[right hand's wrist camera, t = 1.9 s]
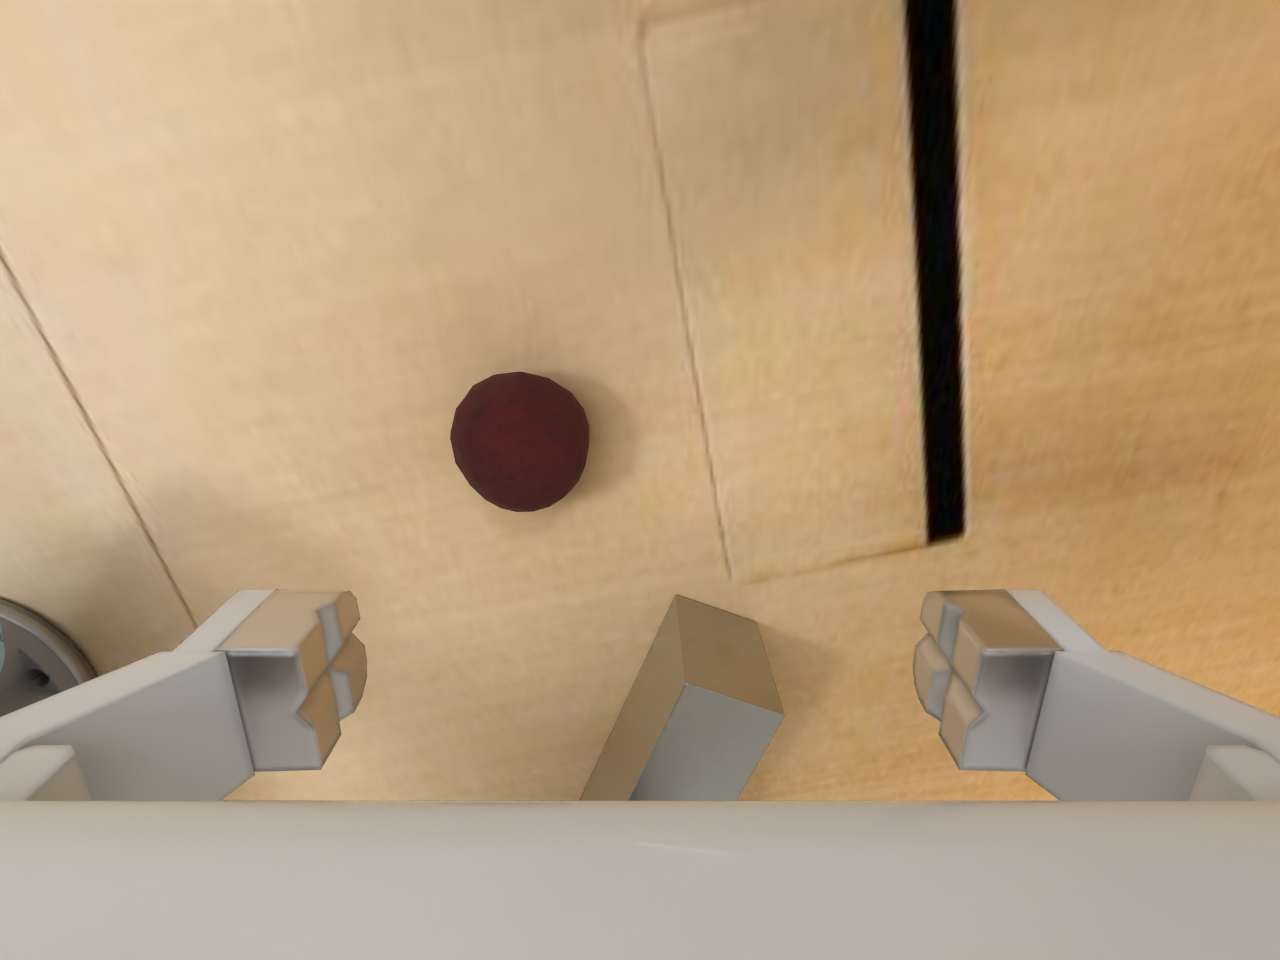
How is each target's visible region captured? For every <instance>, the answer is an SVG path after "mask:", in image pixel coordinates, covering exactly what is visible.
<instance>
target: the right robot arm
mask: <svg viewBox="0 0 1280 960" xmlns="http://www.w3.org/2000/svg"><path fill="white" fill-rule="evenodd" d="M359 620H360V615H359V610H358V604H357V599H356V597H355V596H354V595H353V594H352V593H351V592H350V591H329V590H278V589H253V590H240V591H237V592H236V593H235V594H234V595H233V596H232V597H231V598H230V599H228V600H227V601H226V602H225V603H224V604H223V605H222V606H221V607H220V608H219V609H218V610H217V611H215V612H214V613H213V614H212V615H211V616H210V617H209V618H208V619H207V620H206V621H205V622H204V623H203V624H201V625H200V626H199V627H198V628H197V629H196V630H195V631H194V632H193V633H192V634H191V635H190V636H188V637H187V638H186V639H185V640H184V641H183V642H182V643H181V644H180V645H179V646H178V647H177V648H175V649H174V650H173V651H160V652H158V653H155V654H153V655H151V656H148V657H146V658H143V659H141V660H138V661H136V662H133V663H131V664H129V665H126V666H124V667H121V668H119V669H116V670H114V671H112V672H109V673H107V674H104V675H102V676H99V677H97V678H95V679H92V680H90V681H87V682H85V683H82V684H80V685H77V686H75V687H73V688H70V689H68V690H65V691H63V692H60V693H58V694H56V695H53V696H51V697H48V698H46V699H43V700H41V701H38V702H36V703H34V704H31V705H29V706H26V707H24V708H21V709H19V710H17V711H14V712H12V713H9V714H7V715H4V716H2V717H0V960H1280V717H1278V716H1275V715H1273V714H1270V713H1268V712H1265V711H1263V710H1261V709H1258V708H1256V707H1253V706H1251V705H1248V704H1246V703H1244V702H1241V701H1239V700H1236V699H1234V698H1231V697H1229V696H1227V695H1224V694H1222V693H1219V692H1217V691H1214V690H1212V689H1210V688H1207V687H1205V686H1202V685H1200V684H1197V683H1195V682H1193V681H1190V680H1188V679H1185V678H1183V677H1180V676H1178V675H1176V674H1173V673H1171V672H1168V671H1166V670H1163V669H1161V668H1159V667H1156V666H1154V665H1151V664H1149V663H1146V662H1144V661H1142V660H1139V659H1137V658H1134V657H1132V656H1129V655H1127V654H1125V653H1122V652H1120V651H1107V650H1106V649H1105V648H1104V647H1102V646H1101V645H1100V644H1099V643H1098V642H1097V641H1096V640H1095V639H1094V638H1093V637H1092V636H1091V635H1090V634H1088V633H1087V632H1086V631H1085V630H1084V629H1083V628H1082V627H1081V626H1080V625H1079V624H1078V623H1077V622H1075V621H1074V620H1073V619H1072V618H1071V617H1070V616H1069V615H1068V614H1067V613H1066V612H1065V611H1064V610H1063V609H1061V608H1060V607H1059V606H1058V605H1057V604H1056V603H1055V602H1054V601H1053V600H1052V599H1051V598H1050V597H1049V596H1047V595H1046V594H1045V593H1044V592H1043V591H1040V590H1036V589H1015V590H966V591H934V592H927V594H926V596H925V598H924V601H923V603H922V608H921V614H920V620H921V622H922V623H923V625H924V626H925V628H926V629H927V631H928V633H927V634H926V635H925V636H924V637H923V638H922V639H921V640H920V641H919V642H918V644H917V645H916V646H915V652H914V661H913V674H914V684H915V688H916V691H917V695H918V698H919V700H920V702H921V704H922V706H923V708H924V709H925V711H926V712H927V713H928V714H930V715H932V716H933V717H935V718H936V719H938V720H940V721H941V724H940V730H939V736H940V737H941V739H942V741H943V743H944V744H945V746H946V748H947V749H948V751H949V753H950V754H951V756H952V758H953V760H954V761H955V763H956V765H957V766H958V768H959V770H984V771H1021V772H1026V773H1025V775H1027V776H1028V777H1029V778H1031V779H1032V780H1033V781H1035V782H1036V783H1037V784H1039V785H1040V786H1041V787H1043V788H1044V789H1045V790H1047V791H1048V792H1049V793H1050V794H1052V795H1053V796H1054V797H1056V798H1057V799H1058V800H1060V801H220V800H222V799H223V798H224V797H226V796H227V795H228V794H230V793H231V792H232V791H234V790H235V789H236V788H238V787H239V786H240V785H242V784H243V783H244V782H246V781H247V780H248V779H250V778H251V777H252V776H254V774H255V773H254V772H259V771H295V770H321V768H322V767H323V765H324V763H325V761H326V760H327V758H328V756H329V755H330V753H331V751H332V749H333V748H334V746H335V744H336V743H337V741H338V739H339V737H340V736H341V729H340V724H339V721H340V720H342V719H344V718H345V717H347V716H348V715H350V714H352V713H353V712H354V711H355V709H356V708H357V706H358V704H359V702H360V700H361V698H362V695H363V691H364V687H365V682H366V678H367V658H366V651H365V646H364V645H363V644H362V642H361V641H360V640H359V639H358V638H357V637H356V636H355V635H354V634H353V633H352V631H353V629H354V628H355V626H356V625H357V623H358V622H359Z"/></svg>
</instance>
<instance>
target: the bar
mask: <svg viewBox="0 0 1280 960" xmlns="http://www.w3.org/2000/svg"><path fill="white" fill-rule="evenodd" d="M783 717H784V712H783V708H782V705H781V702H780V698H779V695H778V692H777V689H776V685H775V682H774V679H773V675H772V672H771V669H770V666H769V662H768V659H767V656H766V652H765V649H764V646H763V643H762V639H761V636H760V633H759V629H758V626H757V623H756V622H754V621H752V620H749V619H746V618H743V617H740V616H737V615H734V614H731V613H728V612H725V611H722V610H720V609H717V608H714V607H711V606H708V605H705V604H702V603H699V602H696V601H693V600H690V599H688V598H685V597H682V596H679V595H675V597H674V599H673V601H672V603H671V606H670V608H669V610H668V612H667V614H666V616H665V618H664V621H663V623H662V625H661V627H660V629H659V631H658V634H657V636H656V638H655V640H654V642H653V644H652V646H651V649H650V651H649V653H648V655H647V657H646V659H645V661H644V664H643V666H642V668H641V670H640V672H639V674H638V676H637V679H636V681H635V683H634V685H633V687H632V689H631V691H630V694H629V696H628V698H627V700H626V702H625V704H624V706H623V709H622V711H621V713H620V715H619V717H618V719H617V721H616V724H615V726H614V728H613V730H612V732H611V734H610V736H609V739H608V741H607V743H606V745H605V747H604V749H603V751H602V754H601V756H600V758H599V760H598V762H597V764H596V767H595V769H594V771H593V773H592V775H591V777H590V779H589V782H588V784H587V786H586V788H585V790H584V792H583V794H582V797H581V799H580V801H737V799H738V797H739V795H740V794H741V792H742V790H743V788H744V787H745V785H746V783H747V781H748V779H749V778H750V776H751V774H752V772H753V771H754V769H755V767H756V765H757V763H758V762H759V760H760V758H761V756H762V755H763V753H764V751H765V749H766V748H767V746H768V744H769V742H770V740H771V739H772V737H773V735H774V733H775V732H776V730H777V728H778V726H779V725H780V723H781V721H782V719H783Z"/></svg>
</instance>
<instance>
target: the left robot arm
mask: <svg viewBox="0 0 1280 960" xmlns="http://www.w3.org/2000/svg"><path fill="white" fill-rule="evenodd" d="M95 678H96V676H95V674H94V672H93V670H92V668H91V666H90V665H89V663H88V662H87V660H86V659H85V658H84V656H83V655H82V654H81V652H80V651H79V650H78V649H77V648H76V647H75V645H74V644H73V643H72V642H71V641H70V640H69V639H68V638H67V637H65V636H64V635H63V634H62V633H61V632H60V631H59V630H57V629H56V628H55V627H54V626H52V625H51V624H49V623H48V622H47V621H45V620H44V619H42V618H40V617H39V616H37V615H35V614H34V613H32V612H30V611H28V610H26V609H24V608H22V607H20V606H18V605H15V604H13V603H11V602H8V601H5V600H2V599H0V717H2V716H4V715H7V714H9V713H12V712H14V711H17V710H19V709H21V708H24V707H26V706H29V705H31V704H34V703H36V702H38V701H41V700H43V699H46V698H48V697H51V696H53V695H56V694H58V693H60V692H63V691H65V690H68V689H70V688H73V687H75V686H77V685H80V684H82V683H85V682H87V681H90V680H92V679H95Z"/></svg>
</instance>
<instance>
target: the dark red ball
mask: <svg viewBox="0 0 1280 960" xmlns="http://www.w3.org/2000/svg"><path fill="white" fill-rule="evenodd" d="M450 439H451V444H452V448H453V453H454V457H455V462H456V464H457V466H458V467H459V469H460V470H461V472H462V473H463V475H464V476H465V478H466V479H467V481H468V483H469V484H470V485H471V486H472V487H473V488H474V489H475V490H476V491H477V492H478V493H479V494H480V495H481V496H482V497H483V498H484V499H485V500H487V501H489V502H491V503H493V504H494V505H496V506H498V507H500V508H503V509H507V510H511V511H516V512H529V511H536V510H539V509H543V508H546V507H549V506H551V505H552V504H554V503H556V502H557V501H559V500H560V499H562V498H563V497H565V496H566V495H567V494H568V493H569V491H570V490H571V489H572V488H573V487H574V486H575V484H576V483H577V482H578V481H579V479H580V477H581V474H582V472H583V470H584V467H585V464H586V458H587V452H588V447H589V425H588V421H587V418H586V415H585V411H584V409H583V408H582V406H581V405H580V404H579V402H578V401H577V400H576V398H575V397H574V396H573V394H572V393H571V392H569V391H568V390H566V389H564V388H563V387H561V386H560V385H558V384H557V383H555V382H554V381H552V380H551V379H549V378H545V377H541V376H537V375H533V374H528V373H524V372H513V373H505V374H496V375H493V376H491V377H489V378H487V379H485V380H483V381H481V382H479V383H477V384H475V385H474V386H473V387H472V388H471V389H470V391H469V392H468V394H467V395H466V397H465V398H464V400H463V401H462V402H461V403H460V405H459V406H458V407H457V408H456V412H455V416H454V420H453V424H452V429H451V436H450Z"/></svg>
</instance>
